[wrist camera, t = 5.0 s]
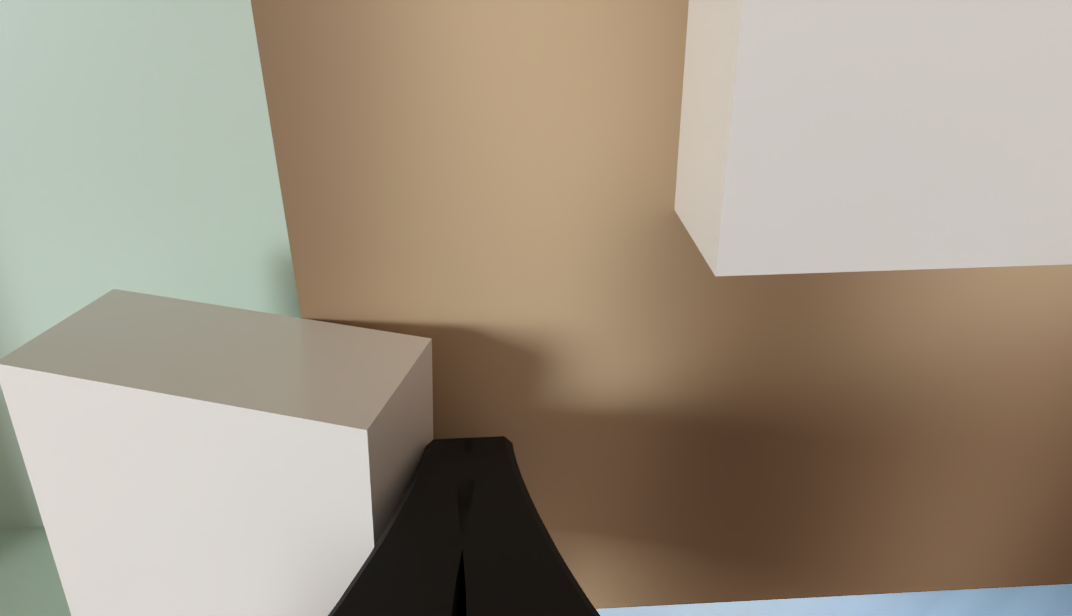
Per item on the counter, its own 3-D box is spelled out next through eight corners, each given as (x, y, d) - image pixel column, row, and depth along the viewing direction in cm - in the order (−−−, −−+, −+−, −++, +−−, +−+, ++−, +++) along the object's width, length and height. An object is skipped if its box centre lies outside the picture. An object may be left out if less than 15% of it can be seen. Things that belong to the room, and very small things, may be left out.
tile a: (431, 338, 10) (367, 430, 8) (435, 598, 12) (384, 715, 10) (113, 288, 11) (-7, 362, 9) (168, 541, 13) (78, 640, 11)
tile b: (1143, -224, 8) (1326, -261, 6) (1026, 198, 10) (1141, 261, 8) (704, -222, 8) (767, -257, 6) (674, 209, 10) (715, 276, 8)
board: (1270, -263, 11) (1532, -316, 8) (1030, 467, 16) (1139, 580, 13) (275, -260, 10) (199, -318, 7) (373, 497, 16) (349, 621, 13)
